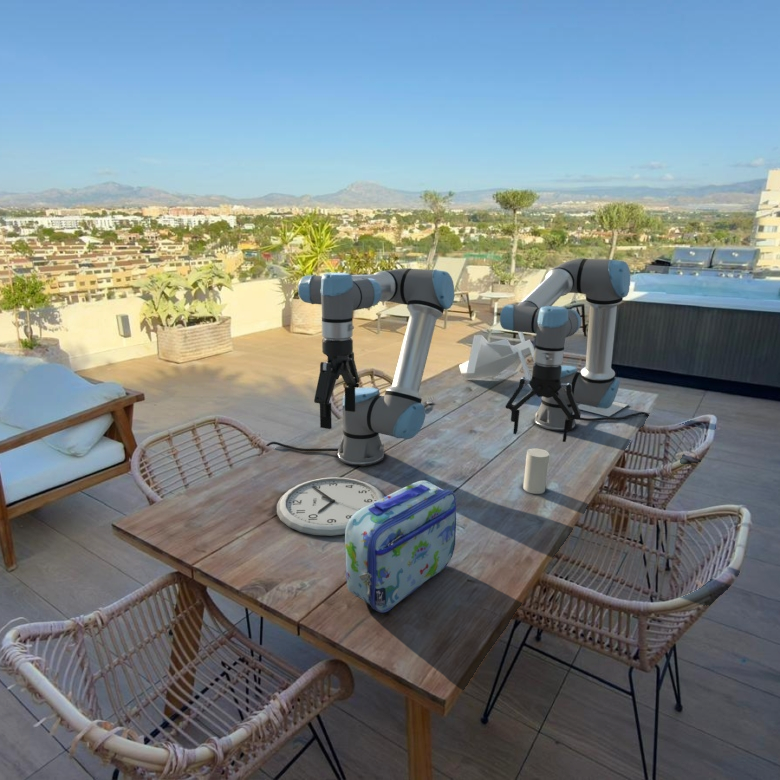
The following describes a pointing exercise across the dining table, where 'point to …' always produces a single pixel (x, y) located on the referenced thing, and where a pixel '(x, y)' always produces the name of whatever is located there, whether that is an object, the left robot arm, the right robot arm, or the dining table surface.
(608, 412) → the invitation card
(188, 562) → the dining table surface
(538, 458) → the canister
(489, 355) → the white plastic object
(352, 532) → the lunch box
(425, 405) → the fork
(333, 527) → the wall clock
